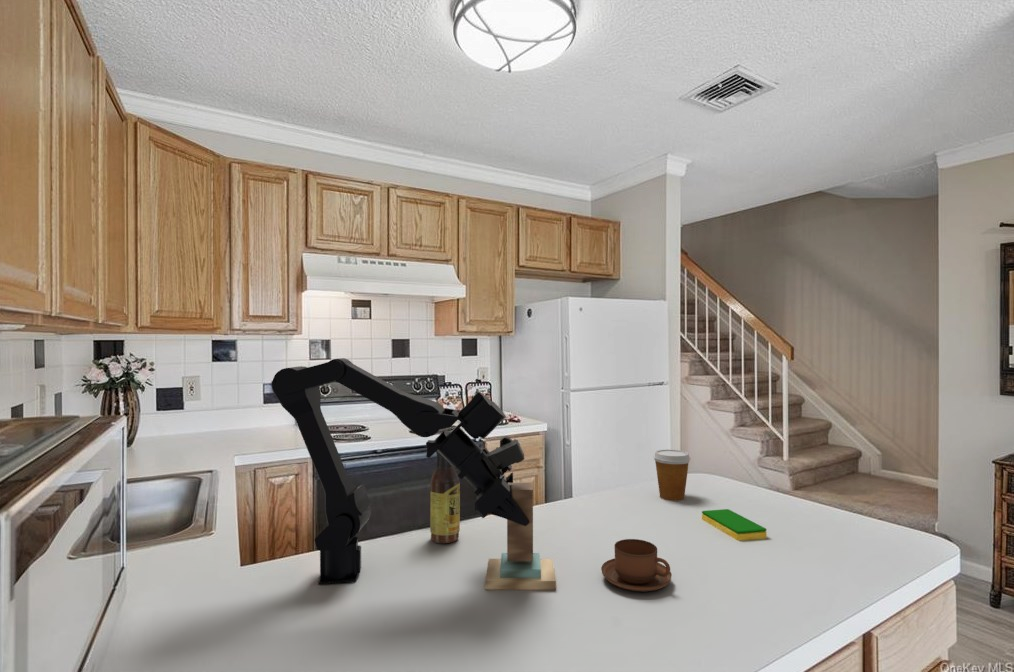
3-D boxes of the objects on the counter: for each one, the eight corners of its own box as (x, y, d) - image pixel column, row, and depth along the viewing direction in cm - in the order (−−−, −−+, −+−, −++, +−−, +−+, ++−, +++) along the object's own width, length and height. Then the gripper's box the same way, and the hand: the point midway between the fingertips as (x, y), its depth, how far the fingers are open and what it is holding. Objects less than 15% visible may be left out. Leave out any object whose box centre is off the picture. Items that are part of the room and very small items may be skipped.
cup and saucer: (672, 572, 97) (672, 538, 97) (670, 603, 85) (670, 565, 85) (606, 563, 101) (606, 531, 101) (596, 592, 89) (596, 555, 89)
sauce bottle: (454, 546, 109) (454, 449, 109) (426, 543, 110) (425, 448, 110) (463, 534, 115) (463, 443, 115) (436, 532, 117) (436, 442, 117)
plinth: (485, 589, 90) (485, 571, 90) (488, 566, 99) (488, 550, 99) (555, 589, 90) (555, 572, 90) (552, 567, 99) (552, 550, 99)
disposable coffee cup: (686, 504, 135) (686, 458, 135) (649, 499, 140) (649, 454, 140) (694, 495, 144) (693, 451, 144) (658, 490, 148) (658, 447, 148)
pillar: (507, 561, 92) (507, 489, 92) (508, 550, 97) (507, 482, 97) (532, 561, 92) (532, 489, 92) (532, 551, 97) (532, 482, 97)
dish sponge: (728, 518, 126) (728, 508, 126) (767, 540, 113) (767, 528, 113) (701, 520, 125) (701, 510, 125) (737, 542, 111) (737, 531, 111)
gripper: (495, 434, 85) (563, 503, 85) (500, 417, 104) (556, 474, 104) (446, 483, 85) (514, 552, 85) (460, 457, 104) (516, 514, 104)
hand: (527, 519), depth 94 cm, fingers closed on pillar, 4 cm apart
